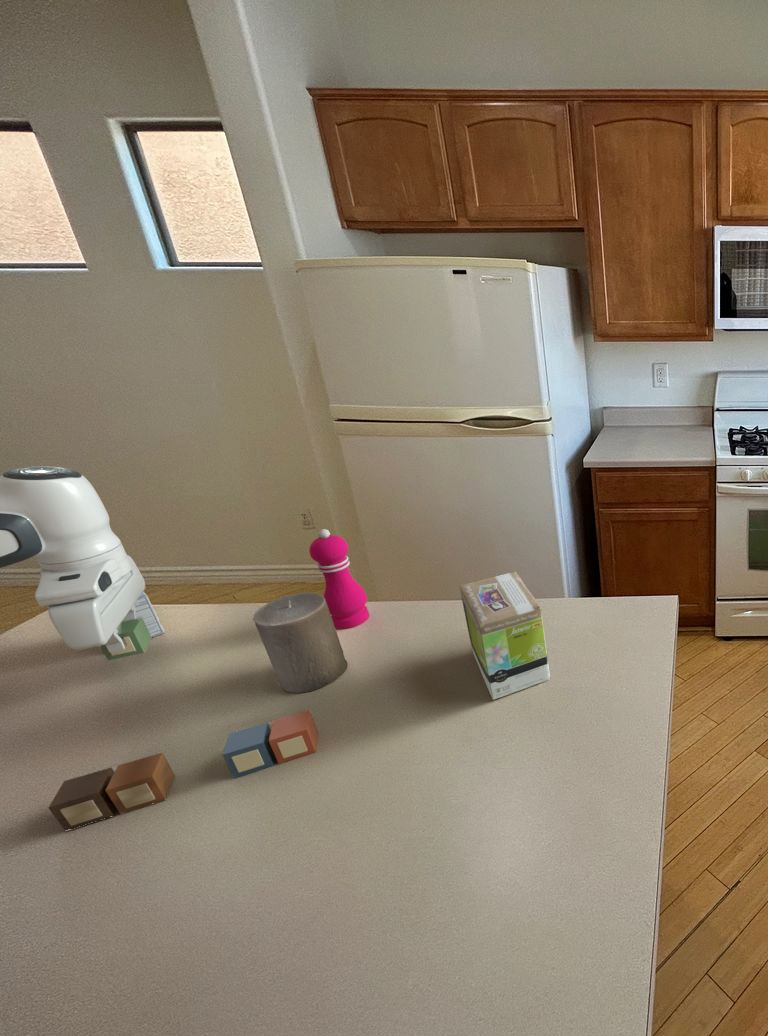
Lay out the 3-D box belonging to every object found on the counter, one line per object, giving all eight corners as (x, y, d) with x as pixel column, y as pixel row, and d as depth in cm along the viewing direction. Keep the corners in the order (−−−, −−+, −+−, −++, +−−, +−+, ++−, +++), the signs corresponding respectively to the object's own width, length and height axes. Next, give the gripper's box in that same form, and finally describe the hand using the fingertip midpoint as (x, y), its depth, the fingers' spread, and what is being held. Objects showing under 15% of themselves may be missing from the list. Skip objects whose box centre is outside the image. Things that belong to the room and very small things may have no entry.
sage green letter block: (107, 661, 90) (95, 639, 88) (117, 646, 93) (106, 624, 91) (144, 653, 92) (133, 631, 90) (152, 638, 95) (142, 617, 93)
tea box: (552, 679, 95) (542, 606, 88) (492, 702, 89) (476, 626, 83) (526, 635, 106) (515, 568, 100) (471, 653, 101) (456, 584, 95)
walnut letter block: (64, 833, 68) (47, 808, 66) (80, 805, 72) (64, 780, 70) (113, 817, 70) (97, 793, 68) (126, 790, 74) (111, 767, 72)
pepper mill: (333, 614, 112) (304, 524, 103) (374, 607, 114) (348, 519, 106) (326, 634, 106) (294, 540, 97) (369, 625, 108) (342, 534, 100)
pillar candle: (353, 652, 101) (330, 581, 94) (338, 687, 92) (312, 612, 86) (291, 662, 98) (263, 590, 92) (270, 699, 89) (237, 622, 83)
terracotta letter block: (278, 764, 78) (268, 741, 76) (282, 742, 81) (272, 720, 80) (315, 752, 80) (306, 730, 78) (318, 731, 83) (309, 709, 82)
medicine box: (159, 625, 108) (141, 587, 104) (166, 633, 105) (147, 594, 102) (102, 645, 102) (80, 605, 98) (108, 654, 99) (85, 614, 96)
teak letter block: (120, 815, 70) (104, 791, 68) (132, 789, 74) (117, 765, 72) (165, 801, 72) (151, 777, 70) (175, 775, 76) (162, 752, 74)
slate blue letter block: (233, 779, 75) (221, 755, 74) (239, 756, 79) (228, 733, 77) (273, 766, 77) (262, 743, 76) (277, 744, 81) (267, 721, 79)
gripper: (87, 545, 93) (122, 614, 98) (27, 603, 77) (73, 682, 82) (138, 537, 96) (169, 605, 101) (91, 592, 79) (130, 669, 85)
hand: (125, 640), depth 92 cm, fingers closed on sage green letter block, 4 cm apart
